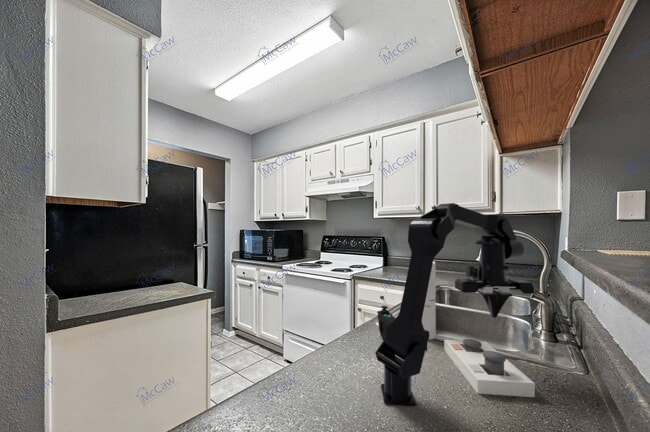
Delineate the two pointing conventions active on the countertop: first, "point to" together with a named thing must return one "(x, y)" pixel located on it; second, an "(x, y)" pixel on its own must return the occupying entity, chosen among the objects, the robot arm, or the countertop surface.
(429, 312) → the cylindrical container
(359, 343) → the countertop surface
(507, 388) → the panel
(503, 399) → the countertop surface
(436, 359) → the countertop surface
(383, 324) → the controller
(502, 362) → the near button
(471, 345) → the far button
